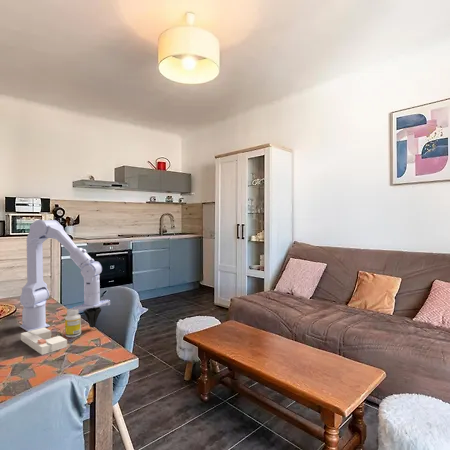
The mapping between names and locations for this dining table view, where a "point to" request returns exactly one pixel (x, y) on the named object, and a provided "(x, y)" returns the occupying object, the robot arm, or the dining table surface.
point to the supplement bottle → (73, 323)
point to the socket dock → (43, 341)
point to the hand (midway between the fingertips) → (92, 326)
